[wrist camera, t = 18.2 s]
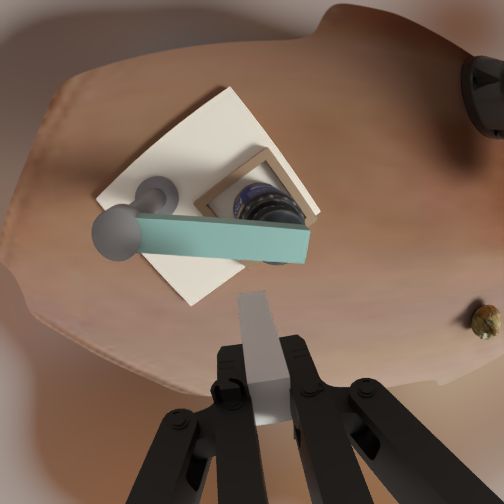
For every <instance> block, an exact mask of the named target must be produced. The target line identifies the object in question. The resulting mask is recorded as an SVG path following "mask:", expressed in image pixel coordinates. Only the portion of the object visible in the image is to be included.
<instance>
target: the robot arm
mask: <svg viewBox="0 0 504 504" xmlns="http://www.w3.org/2000/svg"><path fill="white" fill-rule="evenodd" d="M461 84H462V92H463V97H464V101H465V104H466V107H467V110H468V113H469V115H470V117H471V119H472V121H473V123H474V124H475V126H476V127H477V129H478V130H479V131H480V132H481V133H482V134H483V135H484V136H486V137H488V138H491V139H504V61H502V60H499V59H495V58H491V57H487V56H475V57H470V58H469V59H467V60H466V62H465V63H464V65H463V69H462V74H461ZM237 300H238V309H239V318H240V327H241V335H242V344H238V345H230V346H222V347H221V349H220V350H219V352H218V354H217V380H216V381H215V382H214V384H213V385H212V387H211V390H210V391H211V394H212V397H213V400H214V403H213V404H212V405H211V406H210V407H208V408H206V409H204V410H201V411H199V412H195V413H193V412H192V411H190V410H187V409H175V410H172V411H170V412H169V413H167V414H166V415H165V417H164V418H163V420H162V422H161V424H160V426H159V429H158V431H157V433H156V435H155V438H154V440H153V443H152V445H151V447H150V449H149V451H148V453H147V456H146V458H145V460H144V462H143V465H142V467H141V469H140V471H139V474H138V476H137V478H136V481H135V483H134V486H133V488H132V490H131V492H130V494H129V497H128V499H127V501H126V504H199V502H200V499H201V495H202V492H203V488H204V485H205V481H206V478H207V474H208V471H209V467H210V464H211V460H212V457H213V456H216V464H217V486H218V487H217V488H218V504H269V503H268V497H267V491H266V485H265V478H264V472H263V466H262V460H261V453H260V447H259V440H258V434H257V429H256V426H257V425H264V424H270V423H277V422H283V421H288V420H292V419H293V423H294V439H296V442H297V446H298V450H299V454H300V458H301V462H302V465H303V469H304V473H305V477H306V481H307V485H308V489H309V493H310V497H311V501H312V504H374V502H373V500H372V497H371V495H370V492H369V489H368V487H367V484H366V482H365V479H364V476H363V474H362V471H361V469H360V466H359V464H358V461H357V458H356V456H355V453H354V451H353V448H352V446H353V447H354V448H355V450H356V451H357V452H358V454H359V455H360V456H361V457H362V459H363V460H364V461H365V462H366V464H367V465H368V466H369V467H370V469H371V470H372V471H373V472H374V474H375V475H376V476H377V477H378V479H379V480H380V481H381V482H382V483H383V485H384V486H385V487H386V488H387V490H388V491H389V492H390V493H391V494H392V495H393V497H394V498H395V499H396V500H397V502H398V503H399V504H504V502H503V501H502V500H501V499H500V498H499V497H498V496H497V495H496V494H495V493H494V492H493V491H492V490H490V489H489V488H488V487H487V486H486V485H485V484H484V483H483V482H482V481H481V480H480V479H479V478H478V477H477V476H476V475H475V474H474V473H472V471H471V470H470V469H469V468H468V467H466V466H465V465H464V464H463V463H462V462H461V461H460V460H459V459H458V458H457V457H456V456H455V455H454V454H453V453H452V452H451V451H450V450H449V449H448V448H447V447H446V446H445V445H444V444H443V443H442V442H441V441H440V440H439V439H437V438H436V437H435V436H434V435H433V434H432V433H431V432H430V431H429V430H428V429H427V428H426V427H425V426H424V425H423V424H422V423H421V422H420V421H419V420H418V419H417V418H416V417H415V416H414V415H413V414H412V413H411V412H409V410H407V408H405V407H404V406H403V405H402V404H401V403H400V402H399V401H398V400H397V399H396V398H395V397H394V396H393V395H392V394H391V393H390V392H389V391H388V390H387V389H386V388H385V387H384V386H383V385H382V384H381V383H380V382H378V381H377V380H375V379H371V378H362V379H358V380H356V381H355V382H353V383H352V384H351V386H350V387H333V386H330V385H327V384H326V383H325V382H323V381H322V380H321V379H320V377H319V375H318V372H317V370H316V367H315V365H314V362H313V360H312V357H311V355H310V352H309V350H308V347H307V345H306V343H305V340H304V339H302V338H301V337H300V336H299V335H298V334H297V335H292V336H286V337H280V338H279V337H278V334H277V331H276V327H275V324H274V320H273V317H272V313H271V310H270V307H269V303H268V300H267V296H266V293H265V290H264V291H257V292H250V293H243V294H237ZM351 445H352V446H351Z"/></svg>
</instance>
